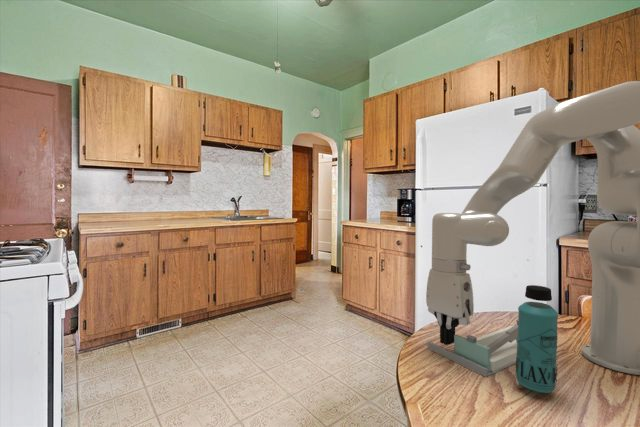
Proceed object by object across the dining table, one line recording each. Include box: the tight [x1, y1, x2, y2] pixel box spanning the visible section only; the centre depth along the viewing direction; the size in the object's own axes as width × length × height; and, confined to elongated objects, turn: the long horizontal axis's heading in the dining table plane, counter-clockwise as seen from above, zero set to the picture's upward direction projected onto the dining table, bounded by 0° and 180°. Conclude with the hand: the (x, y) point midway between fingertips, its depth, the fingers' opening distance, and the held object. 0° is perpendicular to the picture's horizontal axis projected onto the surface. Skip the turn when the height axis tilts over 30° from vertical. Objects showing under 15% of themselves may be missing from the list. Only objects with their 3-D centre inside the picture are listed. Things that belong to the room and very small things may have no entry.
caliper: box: [486, 319, 518, 354], centre depth 74 cm, size 20×1×6 cm, turn 120°
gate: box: [453, 333, 490, 372], centre depth 69 cm, size 8×1×6 cm, turn 30°
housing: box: [426, 325, 517, 378], centre depth 78 cm, size 15×26×2 cm, turn 120°
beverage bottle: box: [515, 284, 559, 394], centre depth 59 cm, size 6×7×20 cm
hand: (447, 342), depth 74 cm, fingers closed
